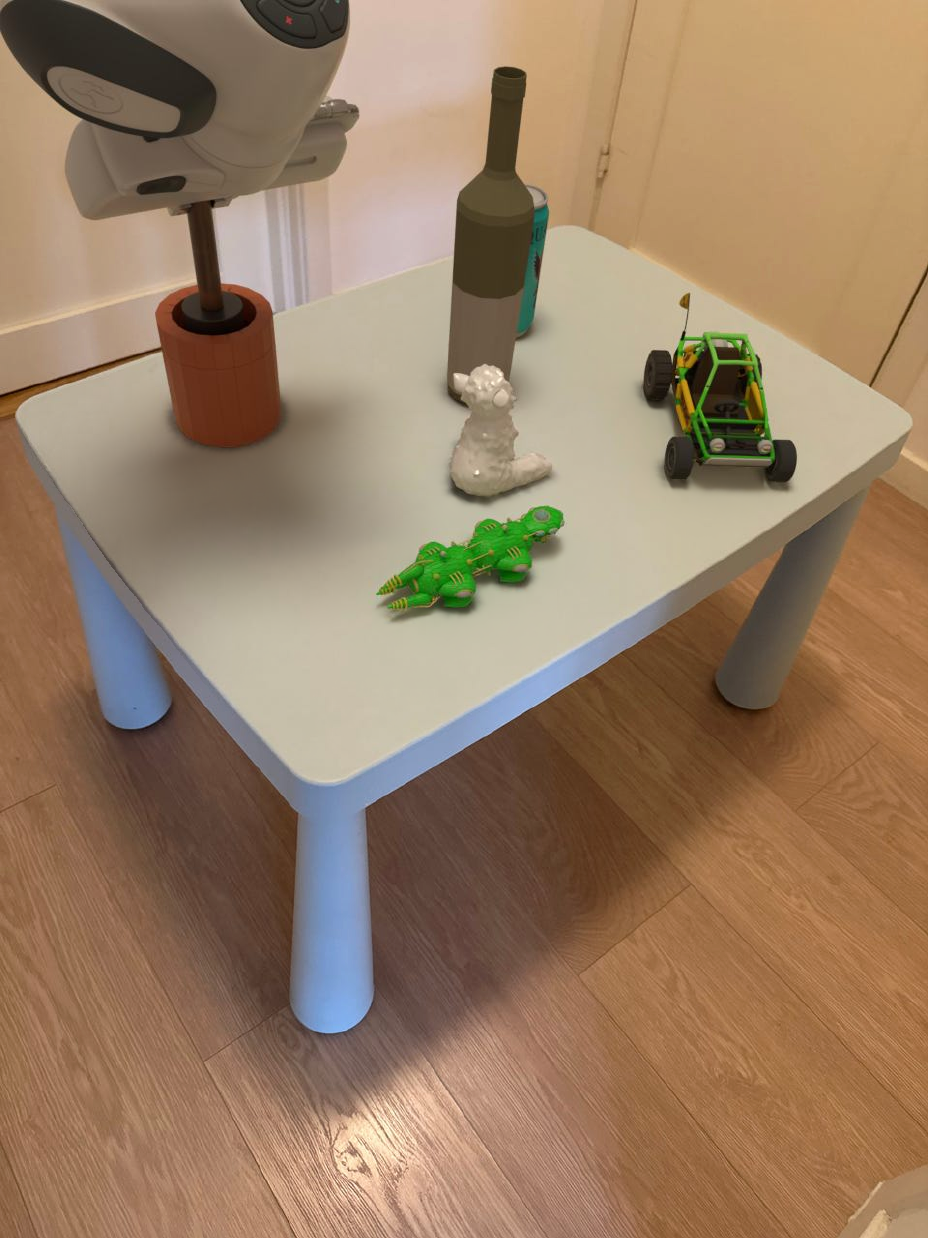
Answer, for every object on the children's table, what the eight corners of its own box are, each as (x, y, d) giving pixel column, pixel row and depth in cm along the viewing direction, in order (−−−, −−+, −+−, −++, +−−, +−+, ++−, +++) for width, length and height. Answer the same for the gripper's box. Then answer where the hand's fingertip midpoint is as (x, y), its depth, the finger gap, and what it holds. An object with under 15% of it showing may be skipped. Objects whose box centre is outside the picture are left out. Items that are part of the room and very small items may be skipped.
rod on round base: (192, 373, 82) (145, 79, 64) (186, 341, 86) (139, 52, 68) (251, 367, 84) (221, 77, 66) (243, 336, 87) (212, 51, 69)
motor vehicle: (669, 489, 87) (699, 395, 79) (635, 370, 100) (657, 280, 92) (787, 492, 88) (828, 400, 81) (738, 374, 101) (769, 285, 93)
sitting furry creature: (553, 474, 88) (574, 365, 79) (505, 523, 83) (521, 412, 74) (470, 434, 91) (482, 325, 82) (419, 479, 86) (425, 368, 77)
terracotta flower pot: (180, 453, 85) (160, 349, 77) (170, 390, 92) (150, 287, 83) (289, 440, 88) (280, 337, 80) (271, 379, 94) (262, 278, 86)
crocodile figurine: (579, 560, 80) (588, 523, 77) (403, 641, 73) (404, 604, 69) (533, 514, 84) (540, 478, 80) (360, 588, 76) (360, 550, 73)
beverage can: (532, 343, 102) (552, 209, 91) (480, 339, 102) (494, 204, 90) (530, 315, 106) (550, 183, 94) (481, 311, 105) (494, 178, 94)
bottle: (434, 404, 93) (456, 79, 71) (451, 366, 98) (476, 50, 75) (502, 418, 93) (545, 95, 70) (516, 380, 97) (561, 64, 75)
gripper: (352, 54, 66) (300, 143, 78) (59, 89, 58) (52, 182, 70) (381, 144, 67) (325, 218, 79) (97, 191, 59) (84, 265, 71)
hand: (195, 201), depth 75 cm, fingers closed on rod on round base
